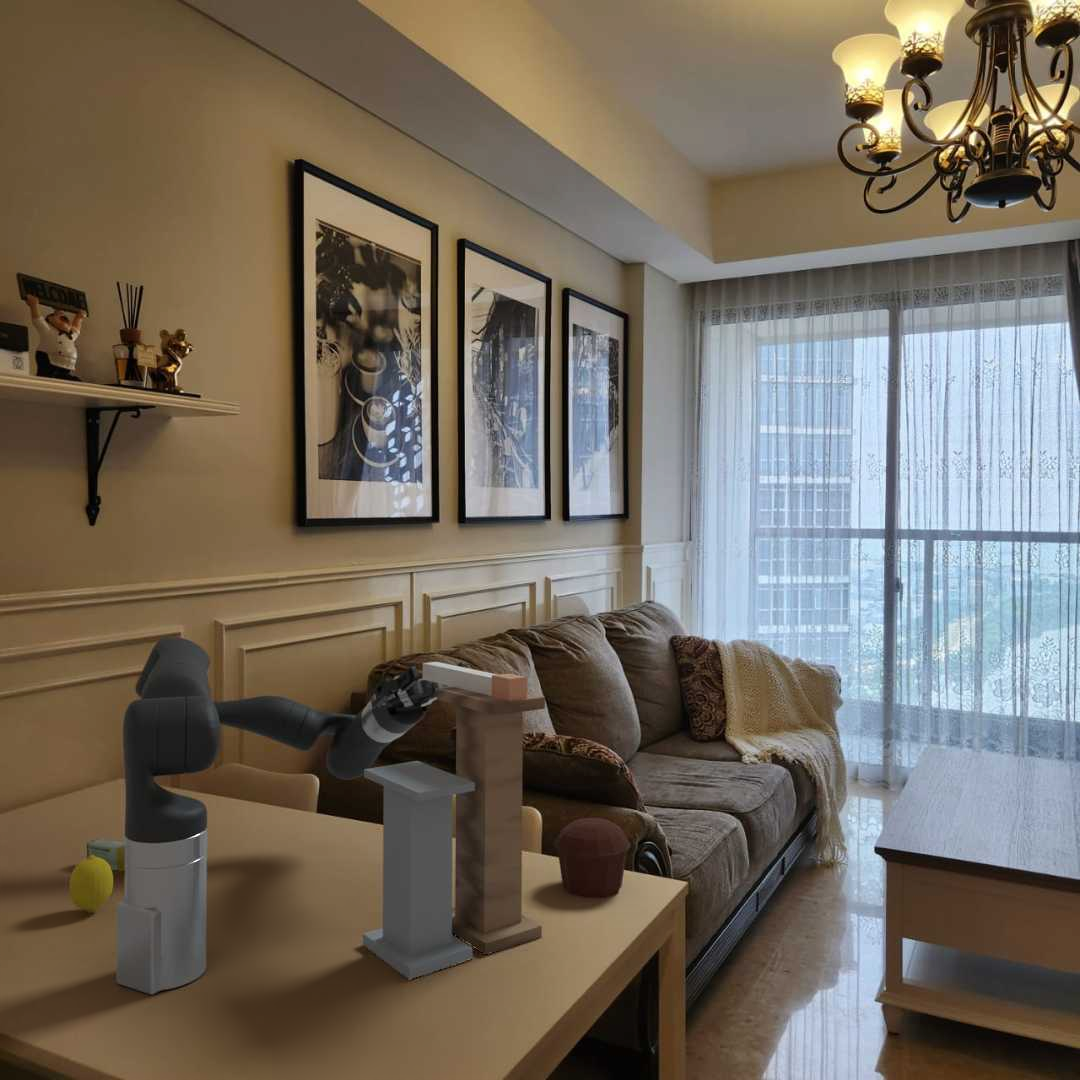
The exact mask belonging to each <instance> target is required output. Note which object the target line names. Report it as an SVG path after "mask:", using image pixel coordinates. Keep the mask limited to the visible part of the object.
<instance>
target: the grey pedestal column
mask: <svg viewBox="0 0 1080 1080" xmlns="http://www.w3.org/2000/svg"><path fill="white" fill-rule="evenodd" d="M363 777H364V778H365V779H368V780H370V781H372V782H375V783H377V784H379V785H381V786H383V818H382V819H383V822H382V823H383V825H382V826H383V828H382V829H383V835H382V837H383V838H382V839H383V840H382V841H383V842H382V843H383V845H382V846H383V848H382V850H383V851H382V854H383V855H382V858H383V859H382V927H381V928H378V929H375V930H371V931H367V932H363V933H362V945H363V947H365V948H366V947H367V948H368V950H369V951H370V950H371V951H372V952H371V951H370V952H371V953H373V954H374V953H375V954H376V956H377V957H378V956H379V957H380V960H382V959H383V960H384V961H383V962H385V963H386V962H387V963H388V964H387V963H386V964H387V965H389V964H390V965H391V966H392V967H391V966H390V965H389V966H390V967H391V968H393V967H394V968H393V970H395V969H396V970H395V971H396V972H398V971H399V972H400V973H399V972H398V973H399V974H401V975H402V974H403V975H404V976H405V977H404V976H403V975H402V976H403V977H404V978H406V977H407V978H408V979H412V980H414V979H413V978H415V979H417V978H416V977H418V978H420V977H419V976H421V977H423V976H422V975H424V976H426V975H425V974H427V975H429V974H428V973H430V974H432V973H431V972H433V973H435V972H434V971H437V970H440V969H443V970H445V969H444V968H446V967H448V966H452V965H453V964H457V963H459V962H462V961H466V960H467V959H471V958H472V959H473V949H474V948H473V947H472V946H470V945H468V944H467V943H465V942H464V941H462V940H461V939H459V938H457V937H456V936H454V935H453V934H452V908H453V809H454V808H453V807H454V806H453V804H454V803H453V802H454V800H453V798H454V797H453V795H454V796H456V794H460V793H465V792H470V791H475V782H472V781H469V780H467V779H464V778H462V777H459V776H456V774H453V773H451V772H448V771H446V770H442V769H440V768H438V767H435V766H433V765H430V764H427V763H425V762H422V761H419V760H413V761H408V762H402V763H395V764H390V765H389V764H387V765H384V766H383V765H382V766H377V767H376V766H375V767H370V768H369V769H364V774H363ZM367 948H366V949H367ZM375 954H374V955H375ZM379 957H378V958H379ZM452 967H453V966H452ZM446 969H447V968H446ZM440 971H441V970H440ZM437 972H438V971H437ZM407 978H406V979H407ZM408 979H407V980H408Z"/></svg>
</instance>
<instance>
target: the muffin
mask: <svg viewBox="0 0 1080 1080" xmlns="http://www.w3.org/2000/svg"><path fill="white" fill-rule="evenodd" d="M630 842H631V841H629V839H628V836H627V835H626V833H625V832H624V831H623V829H622V828H621V826H619V825H618V824H616V823H614V822H612V821H610V820H609V819H605V818H600V817H586V818H585V817H584V818H580V819H577V820H574V821H572V822H571V823H569V824H568V825H565V827H564V828H563V829H562V830H561V831H560V832H559V833H558V835H557V836H556V839H555V840H554V841H553V845H554V846H555V849H556V850H557V856H558V861H559V869H560V875H561V881H562V883H561V884H562V887H564V889H565V890H566V891H567V892H568V893H569V894H570V895H575V896H579V897H582V898H586V899H590V898H607V897H610V896H612V895H616V894H619V892H620V890H621V888H622V886H623V880H624V879H623V878H624V873H625V865H626V859H627V852H628V851H629V849H630V848H631V846H632V844H631V843H630Z"/></svg>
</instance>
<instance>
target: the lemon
mask: <svg viewBox="0 0 1080 1080" xmlns="http://www.w3.org/2000/svg"><path fill="white" fill-rule="evenodd" d="M68 886H69V889H68V890H69V896H70V899H71V901H72V903H73V904H74V905H75V906H76V907H78V908H79V909H82V910H85V911H86V912H88V913H90V914H91V912H92V913H94V912H95V911H96V910H97V909H98V908H100V907H101V906H103V905H104V904H106V902H107V901H108V900H109V898H110V896H111V894H112V893H113V888H114V874H113V870H111V867H110V865H109V864H108V863H107V862H106V861H105V860H104V859H101V858H98V857H95V856H94V855H91V856H89V857H88V858H87V857H86V858H84V859H83V860H82V861H80V862H79V863H77V864H76V866H75V867H74V869H73V871H72V873H71V876H70V880H69V885H68Z"/></svg>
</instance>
